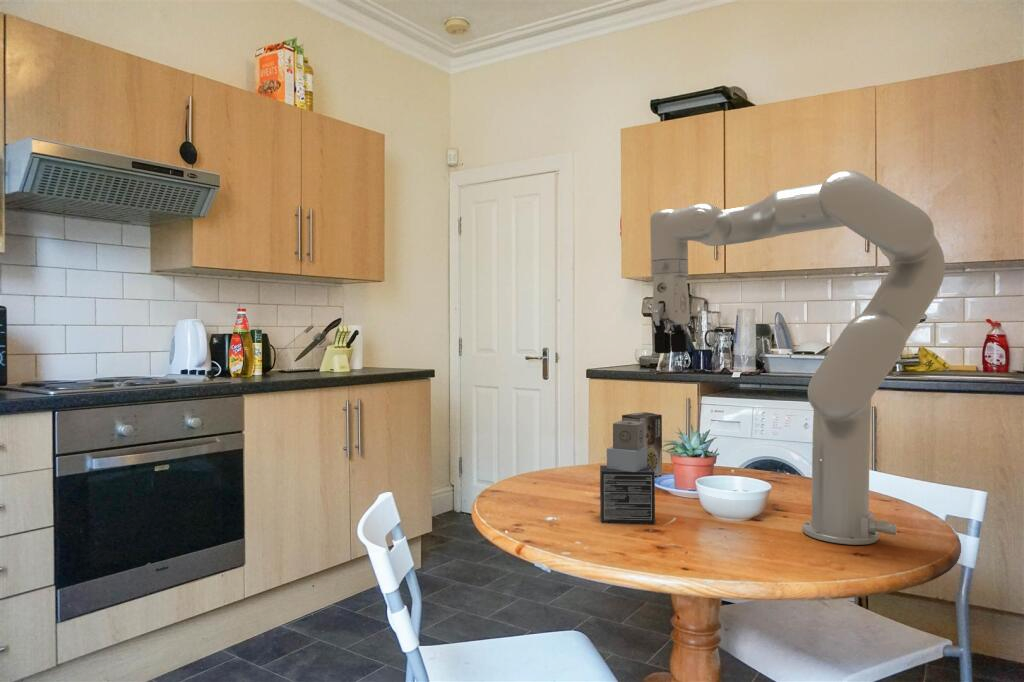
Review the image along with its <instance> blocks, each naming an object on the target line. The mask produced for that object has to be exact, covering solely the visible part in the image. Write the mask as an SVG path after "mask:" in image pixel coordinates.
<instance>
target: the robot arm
mask: <svg viewBox="0 0 1024 682" xmlns="http://www.w3.org/2000/svg"><path fill="white" fill-rule="evenodd" d="M649 220H650V222H649V224H650V225H649V227H650V277H651V279H653V286H652V288H653V289H652V318H653V321H652V323H653V327H654V328H653V334H654V353H655V354H671V353H686V352H687V324H689V323H690V322H691V312H690V297H689V296H690V295H689V286H688V281H687V278H688V277H689V241H693V242H698V243H701V244H702V245H706V246H707V247H721V246H727V245H728V246H729V245H735V244H737V245H738V244H742V243H743V244H745V243H749V242H750V243H751V242H755V241H758V240H764V239H770V238H771V239H772V238H776V237H780V236H784V235H791V234H798V233H804V232H805V233H806V232H810V231H812V232H813V231H817V230H818V231H820V230H829V229H833V228H842V227H846V228H848V229H850V230H851V232H852V231H853V232H854V233H855V234H857V235H859V236H860V237H862V238H863V239H864V240H866V241H868V242H870V243H871V244H873V245H874V246H875V247H877V248H878V249H879V250H880V252H881V253H882V254H883V256H885V257H886V258H887V260H888V262H889V263H888V264H889V269H888V273H887V275H886V276H885V278H884V280H883V281H882V282H881V284H880V285H879V287H878V288H877V290H876V292H875V293H874V295H873V297H872V298H871V300H870V301H869V302H868V303H867V305H866V307H865V308H864V309H863V311H862V312H861V313H860V314H859V315H857V316H855V317H854V318H852V319H851V320H850V321H849V322H848V323H847V325H846V326H845V328H844V329H843V330H842V332H841V333H840V335H839V336H838V338H837V339H836V341H835V342H834V343H833V345H832V347H831V348H830V350H829V351H828V353H827V354H826V356H825V357H824V359H823V360H822V362H821V363H820V365H819V366H818V368H817V370H816V371H815V373H814V374H813V375H812V377H811V379H810V381H809V382H808V383H809V384H808V386H807V399H808V402H809V404H810V405H811V408H812V409H813V416H812V418H813V419H812V421H813V422H812V451H811V458H812V460H811V520H808V521H804V522H803V523H802V532H803V533H804V534H805V535H806V536H808V537H810V538H813V539H816V540H819V541H824V542H827V543H833V544H840V545H841V544H842V545H850V546H851V545H852V546H853V545H855V546H857V545H858V546H859V545H860V546H862V545H863V546H864V545H871V544H874V543H877V541H878V540H879V533H884V534H886V535H892V536H897V533H898V529H897V528H898V527H897V524H896V523H892V522H891V521H889V520H880V519H879V520H878V519H876V517H873V514H874V513H873V511H872V510H870V453H871V415H872V414H871V413H872V397H873V396H874V395H875V393H876V392H877V390H878V389H879V387H880V386H881V384H882V383H883V382H884V381H885V379H886V378H887V376H888V375H889V373H890V372H891V370H892V369H893V367H894V366H895V364H896V363H897V361H898V360H899V359H900V357H901V356H902V354H903V353H904V350H905V348H906V346H907V342H908V340H909V338H910V337H911V335H912V333H913V332H914V330H915V329H916V328H917V326H918V324H919V323H920V322H921V320H922V318H923V317H924V315H925V313H926V312H927V310H928V309H929V307H930V306H931V304H932V303H933V301H934V300H935V298H936V296H937V294H938V292H939V291H940V289H941V287H942V284H943V281H944V278H945V277H944V276H945V270H946V268H945V267H946V263H945V256H944V251H943V249H942V247H941V244H940V242H939V240H938V239H937V238H936V235H935V228H934V227H935V226H934V223H933V221H932V219H931V217H930V215H928V214H927V213H926V211H924V210H923V209H921V208H920V207H918V206H917V205H915V204H914V203H912V202H910V201H908V200H907V199H905V198H904V197H902V196H900V195H899V194H896V193H895V192H893V191H892V190H890V189H888V188H887V187H885V186H883V185H881V184H880V183H878V182H877V181H875V180H873V179H871V178H870V177H868V176H867V175H865V174H864V173H861V172H860V171H855V170H842V171H841V170H840V171H838V172H835V173H833V174H831V175H830V176H828V177H827V178H826V179H825V180H823V182H819V183H815V184H808V185H802V186H801V185H800V186H797V187H790V188H784V189H778V190H776V191H774V192H772V193H770V194H769V195H768V196H766V197H765V198H763V199H761V201H758V202H755V203H752V204H749V205H745V206H739V207H735V208H728V209H727V208H726V209H720V208H718V207H716V206H714V205H712V203H711V204H710V203H706V202H705V203H696V204H692V205H688V206H684V207H680V208H678V209H677V208H668V209H661V210H657V211H654V212H653V213H652V214H651V215H650V219H649ZM670 328H671V331H672V333H669V332H670Z"/></svg>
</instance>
